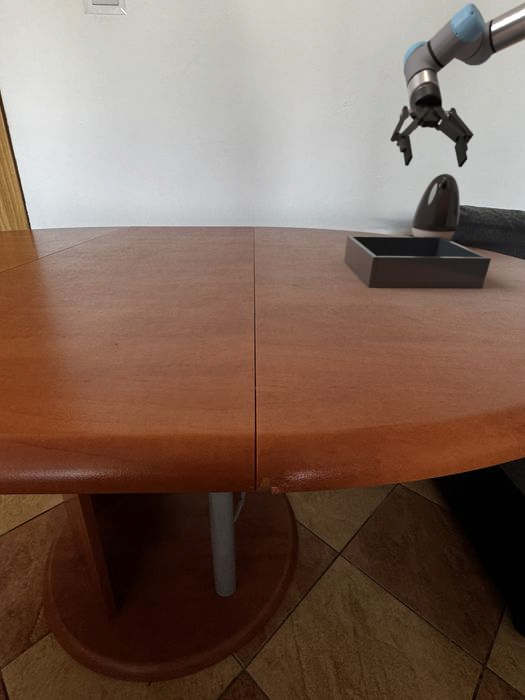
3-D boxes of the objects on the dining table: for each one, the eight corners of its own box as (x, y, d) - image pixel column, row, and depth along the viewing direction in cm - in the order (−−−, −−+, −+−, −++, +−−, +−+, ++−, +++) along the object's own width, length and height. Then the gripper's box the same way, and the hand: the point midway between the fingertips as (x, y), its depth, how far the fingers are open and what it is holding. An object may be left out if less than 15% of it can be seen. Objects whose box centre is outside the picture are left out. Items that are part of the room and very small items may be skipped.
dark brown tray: (436, 261, 75) (441, 236, 73) (482, 288, 61) (491, 258, 58) (344, 260, 74) (347, 235, 72) (368, 287, 60) (373, 257, 57)
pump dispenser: (406, 244, 88) (420, 173, 81) (409, 237, 97) (422, 172, 90) (454, 249, 85) (473, 175, 78) (452, 241, 94) (469, 173, 87)
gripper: (462, 111, 103) (476, 174, 97) (372, 108, 102) (380, 172, 96) (479, 84, 96) (494, 151, 89) (382, 81, 95) (391, 148, 88)
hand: (436, 162), depth 92 cm, fingers open, 13 cm apart
